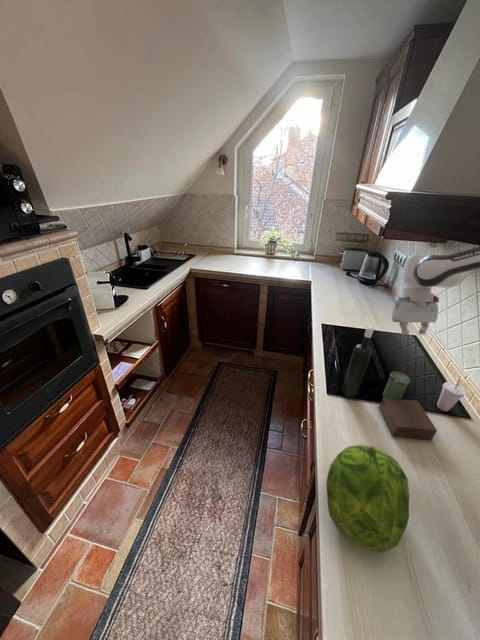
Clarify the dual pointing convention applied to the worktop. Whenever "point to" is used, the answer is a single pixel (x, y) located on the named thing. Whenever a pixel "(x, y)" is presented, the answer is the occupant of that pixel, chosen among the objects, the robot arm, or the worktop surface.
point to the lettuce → (368, 497)
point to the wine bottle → (357, 366)
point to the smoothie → (450, 395)
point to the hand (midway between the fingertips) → (413, 334)
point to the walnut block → (406, 419)
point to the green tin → (396, 385)
